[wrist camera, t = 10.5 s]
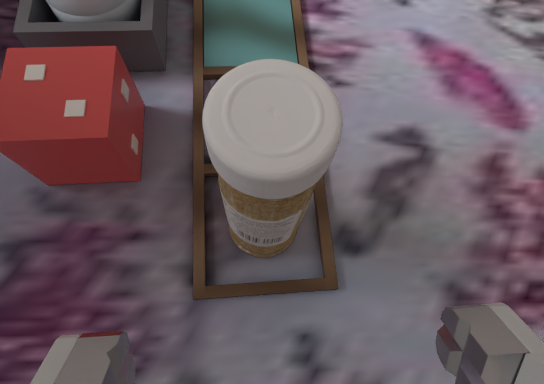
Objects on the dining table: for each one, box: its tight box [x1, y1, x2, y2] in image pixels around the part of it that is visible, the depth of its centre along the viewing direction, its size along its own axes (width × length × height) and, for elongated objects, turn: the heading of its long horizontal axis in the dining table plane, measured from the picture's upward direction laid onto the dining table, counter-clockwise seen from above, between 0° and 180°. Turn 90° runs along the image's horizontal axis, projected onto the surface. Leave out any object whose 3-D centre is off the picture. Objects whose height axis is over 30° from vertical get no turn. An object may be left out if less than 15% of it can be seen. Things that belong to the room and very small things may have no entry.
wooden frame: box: [193, 0, 338, 300], centre depth 26 cm, size 25×9×1 cm, turn 4°
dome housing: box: [13, 0, 168, 71], centre depth 27 cm, size 9×9×4 cm
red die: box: [0, 46, 145, 185], centre depth 22 cm, size 6×6×6 cm
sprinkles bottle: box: [202, 59, 342, 257], centre depth 18 cm, size 5×5×13 cm
